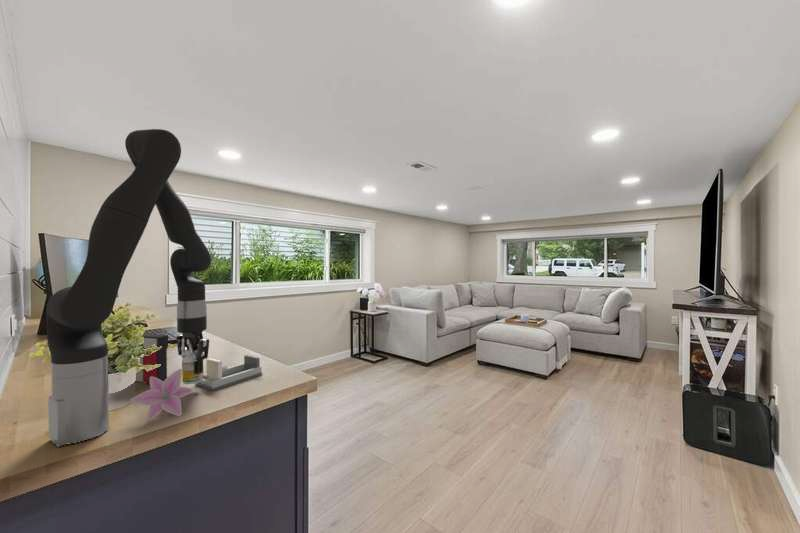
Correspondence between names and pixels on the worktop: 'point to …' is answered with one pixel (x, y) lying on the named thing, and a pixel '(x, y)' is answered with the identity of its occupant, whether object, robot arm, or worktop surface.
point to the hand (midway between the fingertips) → (193, 371)
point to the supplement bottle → (190, 369)
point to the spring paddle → (214, 369)
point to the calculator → (154, 358)
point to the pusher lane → (234, 374)
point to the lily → (163, 395)
